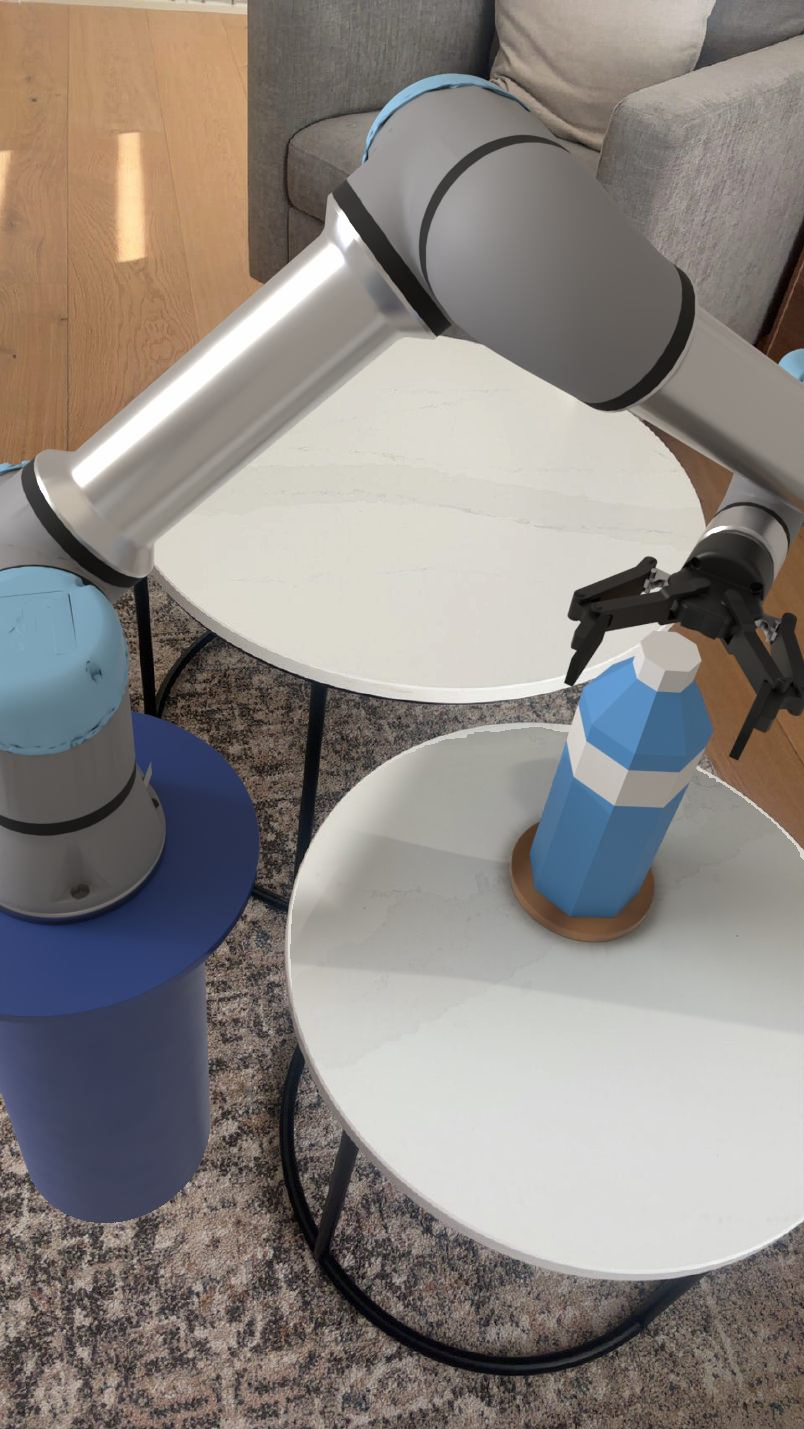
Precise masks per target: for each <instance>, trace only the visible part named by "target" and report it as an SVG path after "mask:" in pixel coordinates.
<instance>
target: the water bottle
mask: <svg viewBox="0 0 804 1429" xmlns="http://www.w3.org/2000/svg"><path fill="white" fill-rule="evenodd" d="M701 663H702V657H701V655H700V651H699V649H698V645H697V643H695V642H693V641H691V640H690V639H688V638H687V637H685V636H684V635H682V634H680V633H679V632H677V631H664V630H663V631H662V630H652V631H651V632H650V633H648V635H646V636H644V638H642V639H641V640H640V641H639V644H638V647H637V649H636V652H635V655H633V656H631V657H627V658H626V659H623V660H620V661H618V662H616V663H612V664H611V665H610V666H608V667H607V668H606V669H605V670H603V671H602V672H601V673H600V674H598V675H597V676H596V677H595V678H594V679H592V680H591V681H590V682H588V683H587V684H586V685H585V686H584V687H583V688H582V691H581V694H580V697H579V700H578V704H577V706H576V710H575V712H574V716H573V719H572V721H571V726H570V727H569V731H568V735H567V737H566V740H565V743H564V746H563V750H562V753H561V756H560V758H559V762H558V764H557V768H556V771H555V774H554V777H553V780H552V783H551V785H550V789H549V792H548V796H547V799H546V802H545V805H544V807H543V810H542V814H541V817H540V820H539V822H540V823H539V826H538V829H537V832H536V835H535V838H534V841H533V844H532V847H531V850H530V860H531V867H532V873H533V880H534V887H535V890H537V891H538V892H539V893H540V894H542V895H543V896H544V897H545V898H547V899H548V900H549V901H551V902H552V903H553V904H554V905H556V906H557V907H558V908H560V909H561V910H562V911H563V912H565V913H566V914H567V915H569V916H570V917H600V918H614V917H615V916H616V915H617V914H618V913H619V912H620V911H621V910H622V909H623V908H624V907H625V906H626V905H627V904H628V903H629V902H630V900H631V899H632V898H633V897H634V896H635V895H636V894H637V893H638V892H639V890H640V888H641V886H642V883H643V881H644V879H645V877H646V875H647V873H648V871H649V868H650V867H651V866H652V863H653V862H654V860H655V858H656V856H657V853H658V851H659V849H660V847H661V845H662V843H663V840H664V838H665V836H666V834H667V833H668V832H667V831H668V830H669V828H670V825H671V824H672V822H673V819H674V817H675V815H676V813H677V810H678V808H679V806H680V804H681V801H682V800H683V798H684V795H685V793H686V791H687V790H688V787H689V785H690V783H691V780H692V779H693V776H694V774H695V772H696V769H697V768H698V765H699V763H700V761H701V759H702V757H703V755H704V752H705V750H706V749H707V745H708V744H709V742H710V739H711V738H712V735H713V733H714V731H715V730H714V726H713V724H712V721H711V718H710V715H709V712H708V708H707V706H706V703H705V699H704V695H703V693H702V692H701V691H702V690H701V689H700V687H699V685H698V684H697V683H698V682H697V681H696V679H695V678H696V675H697V672H698V670H699V668H700V666H701Z"/></svg>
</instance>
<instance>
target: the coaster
mask: <svg viewBox="0 0 804 1429" xmlns="http://www.w3.org/2000/svg"><path fill="white" fill-rule="evenodd" d="M539 823H540V821H538V822H536V823H533V825H531V826H530V827H528V828H527V829H526V830H525V831H523V833H522V834H521V835H520V836H519V838H518V839H517V841H516V842H515V845H514V847H513V850H512V852H511V856H510V860H509V865H508V876H509V882H510V885H511V888H512V891H513V893H514V895H515V897H516V899H517V901H518V902H519V904H520V905H521V907H522V908H523V910H524V911H525V912H526V913H527V914H528V915H529V916H530V917H531V918H532V919H534V920H535V922H537V923H538V924H539V925H541V926H543V927H544V928H546V929H548V930H549V931H551V932H553V933H555V934H557V935H559V936H562V937H565V938H567V939H571V940H575V941H581V942H588V943H589V942H590V943H591V942H592V943H593V942H594V943H597V942H598V943H599V942H607V941H611V940H612V941H613V940H617V939H619V938H620V937H624V936H626V935H628V934H629V933H631V932H633V931H634V930H635V929H636V928H637V927H639V925H640V924H641V923H643V921H644V919H645V918H646V916H647V915H648V913H649V911H650V909H651V907H652V904H653V901H654V897H655V889H656V886H655V877H654V874H653V870H652V867H651V866H650V868H649V871H648V873H647V875H646V877H645V879H644V881H643V883H642V886H641V888H640V890H639V892H638V893H637V894H636V895H635V896H634V897H633V898H632V899H631V900H630V902H629V903H628V904H627V905H626V906H625V907H624V908H623V909H622V910H621V911H620V912H619V913H618V914H617V915H616V916H615V917H614V918H600V917H570V916H569V915H567V914H566V913H565V912H563V911H562V910H561V909H560V908H558V907H557V906H556V905H554V904H553V903H552V902H551V901H549V900H548V899H547V898H545V897H544V896H543V895H542V894H540V893H539V892H538V891H537V890H535V887H534V880H533V873H532V867H531V860H530V850H531V847H532V844H533V841H534V838H535V835H536V832H537V829H538V826H539Z"/></svg>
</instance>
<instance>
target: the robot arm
mask: <svg viewBox="0 0 804 1429" xmlns="http://www.w3.org/2000/svg"><path fill="white" fill-rule="evenodd" d="M362 155H363V156H362V158H361V162H362V163H361V165H360V166H359V167H358V168H357V169H356V170H354V171H353V173H351V174H350V175H349V176H347V177H346V179H345V180H343V181H342V182H341V183H340V184H339V185H338V186H337V187H335V189H333V190H332V191H331V192H330V193H329V194H328V195H327V200H326V209H325V220H324V228H323V230H322V232H321V233H320V234H319V236H317V237H316V238H315V239H314V240H313V241H312V242H311V243H309V244H308V245H307V246H306V247H305V248H304V249H303V250H301V251H300V252H299V253H298V254H297V255H296V256H295V257H293V258H292V259H291V260H290V261H289V262H288V263H287V264H286V265H284V266H283V267H282V268H281V269H280V270H279V271H278V272H277V273H276V274H274V275H272V277H271V278H270V279H269V280H267V281H266V282H265V283H264V284H263V285H262V286H260V288H258V289H257V290H256V291H255V292H254V293H253V294H252V295H251V296H249V297H248V298H247V299H246V300H245V301H244V302H243V303H241V305H239V306H238V307H237V308H236V309H235V310H234V311H232V312H231V313H230V314H229V315H228V316H227V317H226V318H225V319H223V320H222V321H221V322H219V324H218V325H216V326H215V328H213V329H212V330H211V331H209V333H207V334H206V335H205V336H204V337H203V338H202V339H201V340H200V341H199V342H197V343H196V344H195V345H193V347H191V349H189V350H188V351H187V352H186V353H185V354H184V355H183V356H181V357H180V358H179V359H178V360H177V361H176V362H174V364H172V365H171V366H170V367H169V368H167V369H166V371H164V372H163V373H162V374H161V375H160V376H159V377H158V378H156V379H155V380H154V381H153V382H152V383H151V384H150V385H149V386H148V387H147V388H145V389H144V390H143V391H141V392H140V393H139V394H138V395H137V396H136V397H135V398H134V399H132V401H130V402H129V403H128V404H127V405H125V407H124V408H123V409H121V410H120V411H119V412H118V413H117V414H115V416H113V417H112V418H111V419H110V420H109V421H108V422H107V423H105V424H104V425H103V426H102V427H101V428H99V430H97V431H96V432H95V433H94V434H93V435H92V436H91V437H89V438H88V439H87V440H86V441H85V442H84V443H83V444H81V446H79V447H78V448H77V449H76V450H75V451H74V450H73V451H69V450H61V449H55V448H47V449H44V450H42V451H41V452H39V453H38V454H36V456H34V457H33V458H32V459H30V460H23V461H21V463H17V464H11V463H9V462H4V463H1V464H0V912H2V913H4V914H6V915H8V916H10V917H13V918H15V919H18V920H22V921H25V922H30V923H35V924H44V925H63V924H72V923H78V922H83V921H87V920H91V919H94V918H97V917H100V916H102V915H105V914H107V913H109V912H111V911H114V910H116V909H117V908H119V907H121V906H123V905H124V904H126V903H127V902H128V901H130V900H131V899H133V898H134V897H135V896H136V895H137V894H139V893H140V892H141V891H142V890H143V889H144V888H145V887H146V885H147V884H148V883H149V882H150V881H151V879H152V878H153V876H154V875H155V873H156V872H157V870H158V868H159V866H160V864H161V861H162V859H163V856H164V852H165V847H166V824H165V816H164V812H163V809H162V806H161V803H160V801H159V798H158V796H157V794H156V792H155V791H154V789H153V788H152V786H151V785H150V784H149V780H150V778H151V775H152V769H151V762H150V765H149V768H148V770H147V773H146V776H145V775H144V774H143V772H142V771H141V769H140V768H139V766H138V765H137V763H136V758H135V747H134V737H133V726H132V716H131V711H132V708H131V696H130V686H129V672H130V652H129V646H128V640H127V637H126V634H125V631H124V629H123V627H122V625H121V621H120V618H119V616H118V614H117V612H116V609H115V608H114V604H115V603H116V602H117V601H118V600H119V599H120V598H122V597H123V596H124V595H126V593H127V592H129V591H130V590H131V589H132V588H133V587H135V586H136V585H137V584H138V583H139V582H141V581H142V580H143V579H144V578H146V577H147V576H148V575H149V574H151V573H152V570H153V569H154V566H155V544H156V542H157V541H158V540H160V539H161V538H162V537H163V536H164V535H166V533H168V532H169V531H170V530H171V529H173V528H174V527H175V526H176V525H178V523H180V522H181V521H182V520H183V519H185V518H186V517H187V516H188V515H189V514H191V513H192V512H193V511H195V509H197V508H198V507H199V506H200V505H202V504H203V503H204V502H205V501H206V500H208V499H209V498H210V497H211V496H212V495H213V494H215V493H216V492H218V490H220V489H221V488H222V487H223V486H224V485H226V484H227V483H228V482H229V481H230V480H232V479H233V478H234V477H236V476H237V475H238V474H239V473H240V472H241V471H242V470H244V469H245V468H246V467H247V466H248V465H250V464H252V462H254V461H255V460H256V459H257V458H258V457H260V455H262V454H263V453H264V452H265V451H267V450H268V449H269V448H270V447H271V446H273V445H274V444H275V443H277V441H279V440H280V439H281V438H283V437H284V436H285V435H286V434H288V432H289V431H291V430H293V428H294V427H296V426H297V425H298V424H299V423H300V422H302V421H303V420H304V419H305V418H306V417H308V416H309V415H311V413H313V411H315V410H316V409H317V408H318V407H320V406H321V405H322V404H323V403H325V402H326V401H327V400H328V399H329V398H330V397H332V396H333V395H334V394H336V393H337V392H338V391H339V390H340V389H341V388H342V387H344V386H345V385H346V384H347V383H349V382H350V381H351V380H352V379H353V378H354V377H356V376H357V375H358V374H359V373H361V372H362V371H363V370H364V369H366V367H368V366H369V365H370V364H371V363H373V362H374V361H376V360H377V358H379V357H380V356H381V355H382V354H384V353H385V352H386V351H387V350H388V349H389V348H390V347H392V346H393V345H394V344H396V343H397V342H398V341H400V340H402V339H404V338H411V339H422V340H431V341H434V340H436V339H437V338H438V337H439V336H441V335H442V334H443V333H444V332H445V331H446V330H448V329H449V328H451V327H452V326H453V325H455V324H456V325H457V326H458V327H459V328H461V330H463V331H464V332H466V334H468V335H469V336H470V337H471V338H473V339H474V340H475V341H477V342H478V343H479V344H481V345H482V346H484V347H486V348H487V349H489V350H490V351H492V352H494V353H496V354H497V355H499V356H500V357H502V358H503V359H506V360H507V361H509V362H510V363H512V364H513V365H515V366H518V368H521V369H522V370H524V371H526V372H528V373H530V374H531V375H533V376H535V377H536V378H538V379H541V380H542V381H544V382H546V383H547V384H550V385H551V386H553V387H555V388H557V389H559V390H560V391H562V392H564V393H566V394H568V395H570V396H571V397H573V398H575V399H577V400H578V401H579V402H582V403H583V404H584V405H587V406H588V407H589V408H592V409H594V410H596V411H598V412H600V413H601V412H602V413H606V414H616V413H622V412H625V411H629V412H631V413H633V414H634V415H636V416H637V417H639V418H641V419H643V420H645V421H646V422H648V423H650V424H651V425H653V426H655V427H656V428H657V429H659V430H661V431H663V432H664V433H666V434H668V435H670V436H671V437H672V438H674V439H676V440H678V441H680V443H683V444H684V445H686V446H688V447H689V448H691V449H693V450H695V452H698V453H700V454H701V455H703V456H704V457H706V458H708V459H710V460H712V461H713V462H715V463H716V464H718V465H719V466H721V467H723V468H724V469H726V470H728V471H729V472H730V473H732V474H733V475H732V477H731V480H730V482H729V485H728V488H727V490H726V492H725V496H724V497H723V500H722V501H721V503H720V505H719V507H718V509H717V510H716V512H715V514H714V516H713V517H712V519H711V520H710V521H709V523H708V524H707V526H706V527H705V529H704V531H703V532H702V534H701V535H700V537H699V539H698V540H697V542H696V544H695V546H694V547H693V549H692V551H691V552H690V554H689V555H688V557H687V559H686V560H685V562H684V563H683V565H682V567H681V568H680V570H678V571H676V572H673V573H671V574H670V573H668V572H666V571H664V570H662V569H660V568H658V567H657V565H658V559H656V557H654V556H651V555H648V556H645V557H643V558H642V559H641V560H640V562H639V563H638V564H637V565H635V566H634V567H631V568H629V569H626V570H623V571H620V572H619V573H615V574H613V575H611V576H608V577H606V578H603V579H601V580H598V581H596V582H593V583H591V584H588V585H586V586H583V587H580V588H578V589H576V590H574V591H573V595H572V597H571V601H570V605H569V608H568V611H567V615H566V616H567V618H568V619H569V620H570V621H573V622H579V624H578V625H577V626H576V629H575V630H574V632H573V636H572V639H571V642H570V649H571V650H574V651H575V652H574V653H573V655H572V656H571V658H570V661H569V664H568V667H567V671H566V674H565V678H564V681H563V684H565V685H567V686H569V687H572V688H573V687H574V686H575V684H576V682H577V681H578V679H579V678H580V676H581V675H582V673H583V672H584V670H585V669H586V667H587V666H588V664H589V663H590V661H591V660H592V658H593V656H594V655H595V653H596V652H597V650H598V649H599V647H600V646H601V645H602V642H603V641H604V637H605V635H606V633H607V632H614V631H617V630H623V629H629V628H633V627H640V626H645V625H651V624H655V623H657V624H658V625H659V626H666V625H672V624H677V623H678V624H679V623H680V624H679V626H680V627H683V628H685V629H687V630H690V631H695V632H698V633H700V634H702V635H703V636H705V637H706V638H709V639H711V640H714V641H715V640H716V639H719V640H720V642H721V644H722V646H723V648H724V650H725V651H726V653H727V654H728V655H731V656H732V655H733V657H734V659H735V660H736V662H737V664H738V665H739V667H740V669H741V671H742V673H743V674H744V676H745V677H746V679H747V681H748V682H749V684H750V686H751V688H752V689H753V691H754V693H755V694H756V696H755V698H754V700H753V702H752V704H751V707H750V709H749V711H748V712H747V715H746V717H745V719H744V722H743V724H742V726H741V728H740V730H739V732H738V734H737V737H736V739H735V740H734V743H733V745H732V747H731V750H730V753H729V755H728V758H731V759H733V760H736V761H739V759H740V757H741V756H742V754H743V752H744V750H745V748H746V746H747V744H748V742H749V740H750V737H751V736H752V733H753V732H754V730H757V731H759V732H761V733H764V734H766V733H767V732H769V731H770V729H771V728H772V726H773V724H774V722H775V720H776V718H777V715H778V713H779V712H780V710H786V711H787V713H788V714H790V716H793V717H800V716H802V714H803V712H804V657H803V654H802V650H801V646H800V644H799V640H798V638H797V635H796V632H795V631H796V627H797V622H798V617H797V616H796V615H795V614H794V613H792V612H783V614H782V616H781V618H780V617H777V616H774V615H772V614H768V613H765V610H764V608H763V605H764V603H765V601H766V599H767V597H768V595H769V592H770V591H771V589H772V587H773V584H774V582H775V580H776V578H777V577H778V574H779V572H780V571H781V569H782V566H783V565H784V562H785V561H786V558H787V556H788V554H789V550H790V549H791V547H792V546H793V543H794V541H795V539H796V538H797V537H798V534H799V532H800V530H802V528H803V527H804V348H797V349H795V350H792V351H790V352H788V353H787V354H785V355H784V356H783V357H782V358H781V359H780V360H779V362H778V363H777V362H775V361H774V360H773V359H772V358H770V357H768V356H767V355H766V354H764V353H763V352H762V351H761V350H759V349H758V348H757V347H755V345H753V344H751V343H750V342H748V341H747V340H746V339H744V338H743V337H741V336H740V335H739V334H737V333H736V332H735V331H734V330H732V329H731V328H730V327H728V326H727V325H726V324H725V323H723V322H721V321H720V320H719V319H717V318H716V317H715V316H713V315H712V314H711V313H710V312H708V311H707V310H705V309H704V308H702V307H701V306H700V305H699V304H700V303H699V296H698V292H697V288H696V286H695V284H694V281H693V280H692V278H690V276H689V274H687V273H686V272H685V271H683V270H682V269H681V268H680V267H678V266H677V265H676V264H674V263H673V262H672V261H670V260H669V258H667V257H666V256H664V254H662V253H661V252H660V251H659V250H658V248H656V247H655V246H654V244H653V243H652V242H650V240H649V239H648V238H647V237H646V236H645V235H644V233H643V232H642V231H641V230H640V229H639V228H638V227H637V226H636V224H634V223H633V221H632V220H631V219H630V218H629V216H628V215H627V214H626V213H625V212H624V210H623V209H622V208H621V207H620V205H618V203H617V202H616V200H614V198H613V197H612V196H611V195H610V193H609V191H607V190H606V189H605V187H604V186H603V185H602V184H601V182H600V181H599V180H598V179H597V177H595V175H594V174H593V173H592V172H591V170H590V169H589V168H588V167H587V166H586V165H585V164H584V163H583V162H582V161H581V160H580V159H579V158H578V157H576V156H575V155H573V153H571V152H570V150H569V149H568V148H567V147H566V146H565V145H564V144H563V143H562V142H561V141H560V140H559V139H558V138H557V137H556V135H554V133H552V132H551V130H550V129H549V128H548V127H547V126H546V125H545V124H544V123H543V122H542V121H541V120H540V119H539V118H538V116H536V115H535V114H534V113H533V112H532V110H531V109H530V107H529V106H528V104H526V103H525V102H523V101H522V100H520V99H519V98H518V97H516V95H515V94H513V93H511V92H509V91H508V90H506V89H503V88H501V87H499V86H497V85H496V84H494V83H492V82H491V81H489V80H486V79H484V78H482V77H479V76H476V75H471V74H462V73H442V74H437V75H432V76H429V77H426V78H423V79H421V80H418V81H417V82H414V83H412V84H410V85H408V86H407V87H405V88H403V90H401V91H400V92H398V93H397V94H395V96H393V97H392V98H391V99H390V100H389V101H388V102H387V103H386V104H385V106H384V107H383V108H382V110H381V111H380V112H379V113H378V115H377V116H376V118H375V120H374V121H373V123H372V125H371V126H370V129H369V131H368V134H367V135H366V139H365V146H364V149H363V154H362ZM656 588H660V589H659V590H658V591H653V592H652V591H651V590H654V589H656ZM757 629H759V630H761V631H763V633H764V636H765V640H764V642H765V644H767V645H768V646H769V650H768V648H767V647H766V645H765V644H764V642H763V640H762V639H761V637H760V636H759V635H758V632H757Z"/></svg>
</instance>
